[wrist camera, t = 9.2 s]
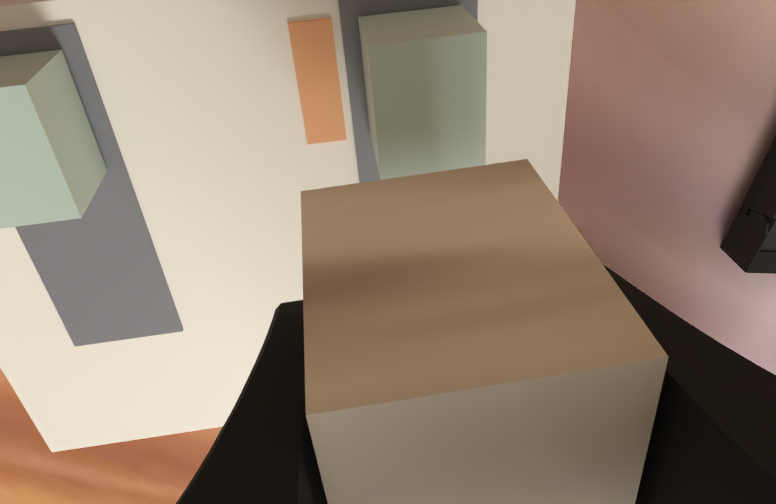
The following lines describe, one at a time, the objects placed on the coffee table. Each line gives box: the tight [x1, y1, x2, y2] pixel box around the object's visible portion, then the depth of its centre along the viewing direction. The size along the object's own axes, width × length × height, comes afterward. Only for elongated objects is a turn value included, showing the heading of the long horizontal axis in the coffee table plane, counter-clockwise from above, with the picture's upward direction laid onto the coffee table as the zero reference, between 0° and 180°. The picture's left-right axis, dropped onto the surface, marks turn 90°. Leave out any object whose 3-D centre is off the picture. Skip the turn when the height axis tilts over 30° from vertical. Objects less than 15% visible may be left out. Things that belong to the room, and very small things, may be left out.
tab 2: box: [358, 5, 487, 180], centre depth 14 cm, size 3×2×2 cm
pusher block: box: [301, 159, 668, 504], centre depth 10 cm, size 4×4×5 cm
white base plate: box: [0, 0, 576, 452], centre depth 18 cm, size 14×17×2 cm
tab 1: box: [0, 50, 107, 229], centre depth 14 cm, size 3×2×2 cm
